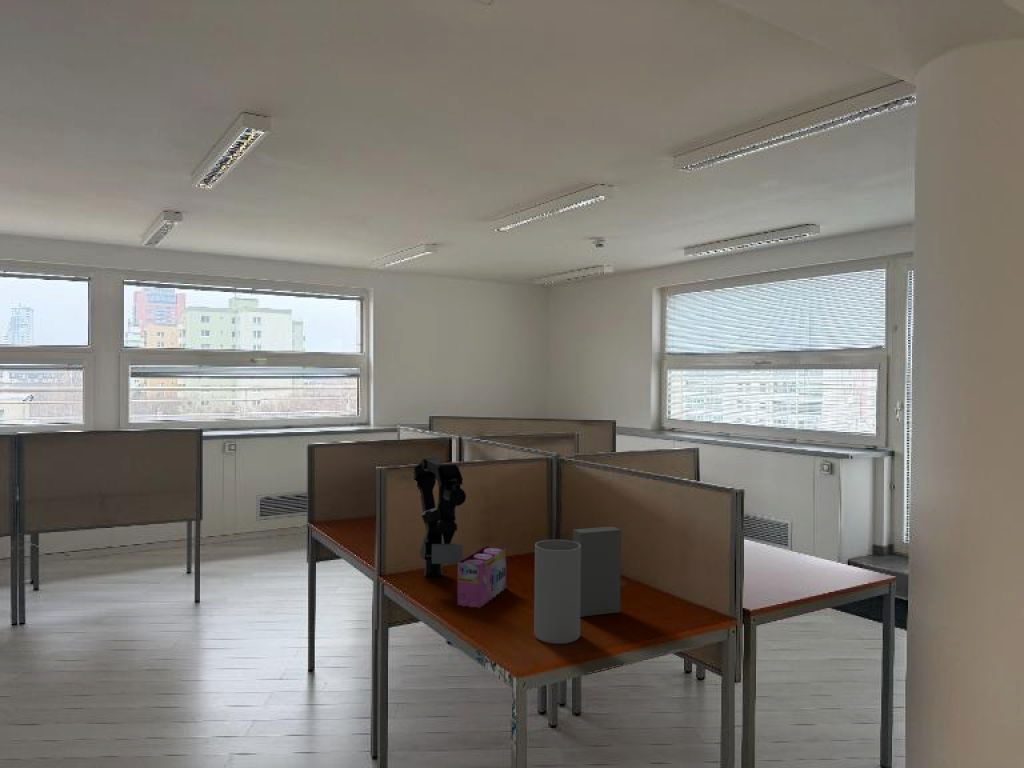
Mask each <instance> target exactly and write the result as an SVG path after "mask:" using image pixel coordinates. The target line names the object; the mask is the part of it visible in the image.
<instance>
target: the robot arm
mask: <svg viewBox="0 0 1024 768" xmlns="http://www.w3.org/2000/svg"><path fill="white" fill-rule="evenodd" d="M425 469H426V470H425ZM413 470H414V472H413V471H412V473H414V480H416V481H417V487H418V489H419V490H420V493H421V496H420V501H421V508H422V512H421V514H420V515H421V517H422V520H423V522H424V523H423V524H424V526H425V534H424V537H423V540H422V541H423V543H422V546H421V547H420V550H419V554H420V555H419V556H420V558H421V559H422V560H424V561H425V568H424V569H425V570H423V575H424V577H425V578H431V577H432V578H433V577H434V578H435V577H444V573H443V569H442V566H443V565H442V564H432V544H442V534H443V539H444V544H450V542H451V543H452V539H453V538H454V535H455V533H456V532H457V531H458V523H457V522H456V507H458V506H461V505H463V504H464V503H465V501H466V499H467V495H466V492H465V490H464V489H462V488H461V486H462V485H463V476H462V473H461V471H460V468H459V466H458V465H457V464H456V463H445V462H442V461H440V460H438V459H437V458H435V457H430V458H429V457H427V458H426V457H424V458H423V459H422V460H421V461H420V463H418V464H417V465H416V466H415V467H414V468H413ZM436 482H437V486H438V499H437V500H438V503H437V504H436V502H435V497H434V488H435V486H436ZM436 505H437V506H436Z"/></svg>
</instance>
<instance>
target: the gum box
mask: <svg viewBox="0 0 1024 768" xmlns="http://www.w3.org/2000/svg"><path fill="white" fill-rule="evenodd" d="M506 554H507V553H506V548H505V547H502V549H500V548H497V547H496V548H495V547H494V548H493V547H490V546H489V545H485V546H484V547H481V548H480V549H478V550H477V551H475V552H473V553H472V554H470V555H468V556H466V557H465V558H462V560H461V561H459V562H458V563H457V594H456V595H457V598H456V599H457V603H456V605H457V606H458V605H461V607H465V606H469V607H468V608H473V607H477V608H476V609H480V608H482V607H483V606H484V604H485V605H486V604H487V603H489V602H490V601H492V599H494V598H495V597H497V596H498V595H499V594H501V593H502V592H503V591H504V590H506V589H507V558H506V557H507V555H506ZM505 588H506V589H505ZM501 591H502V592H501ZM500 592H501V593H500ZM497 594H498V595H497ZM496 595H497V596H496ZM493 597H494V598H493ZM489 600H490V601H489ZM481 606H482V607H481ZM478 607H479V608H478Z"/></svg>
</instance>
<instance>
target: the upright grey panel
mask: <svg viewBox="0 0 1024 768" xmlns="http://www.w3.org/2000/svg"><path fill="white" fill-rule="evenodd" d="M621 538H622V530H621V529H620V528H618V527H615V526H602V527H601V526H600V527H590V528H589V527H588V528H575V529H574V528H573V529H572V541H573V542H577V543H579V544H580V545H581V598H580V617H581V618H583V617H590V616H598V615H606V614H615V613H616V614H619V613H621V611H622V610H621V569H622V568H621V562H622V561H621V559H622V558H621V553H622V552H621V548H622V547H621V546H622V544H621V543H622V539H621Z"/></svg>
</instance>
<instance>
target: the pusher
mask: <svg viewBox="0 0 1024 768" xmlns="http://www.w3.org/2000/svg"><path fill="white" fill-rule="evenodd" d="M463 545H464V544H463V543H461V542H460V543H452V541H451V542H450V544H444V539H443V534H442V544H432V564H444V565H445V564H458V562H459V561H461V560H463Z"/></svg>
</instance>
